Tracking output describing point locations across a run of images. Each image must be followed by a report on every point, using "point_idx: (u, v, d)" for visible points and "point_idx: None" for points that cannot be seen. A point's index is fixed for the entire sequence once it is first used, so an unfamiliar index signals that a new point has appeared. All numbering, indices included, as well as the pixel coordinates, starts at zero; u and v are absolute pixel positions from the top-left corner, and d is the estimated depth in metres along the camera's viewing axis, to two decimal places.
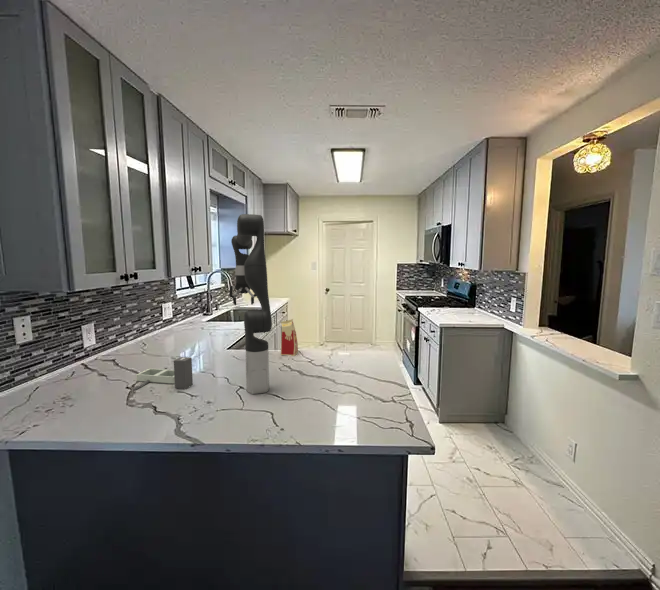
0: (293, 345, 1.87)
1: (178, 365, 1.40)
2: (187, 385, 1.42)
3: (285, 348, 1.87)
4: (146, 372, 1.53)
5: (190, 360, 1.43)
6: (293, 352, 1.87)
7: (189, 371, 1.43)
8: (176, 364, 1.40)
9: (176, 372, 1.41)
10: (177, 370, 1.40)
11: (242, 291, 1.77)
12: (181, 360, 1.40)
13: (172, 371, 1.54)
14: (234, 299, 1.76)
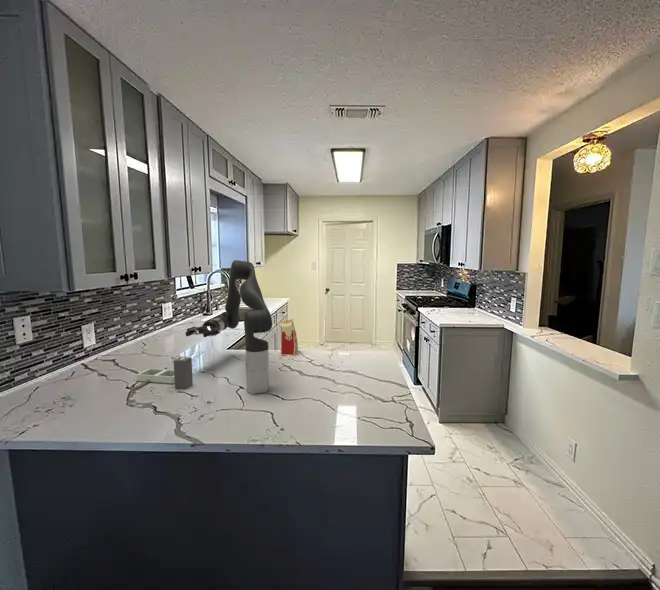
0: (293, 345, 1.87)
1: (178, 365, 1.40)
2: (187, 385, 1.42)
3: (285, 348, 1.87)
4: (146, 372, 1.53)
5: (190, 360, 1.43)
6: (293, 352, 1.87)
7: (189, 371, 1.43)
8: (176, 364, 1.40)
9: (176, 372, 1.41)
10: (177, 370, 1.40)
11: (202, 328, 1.58)
12: (181, 360, 1.40)
13: (172, 371, 1.54)
14: None
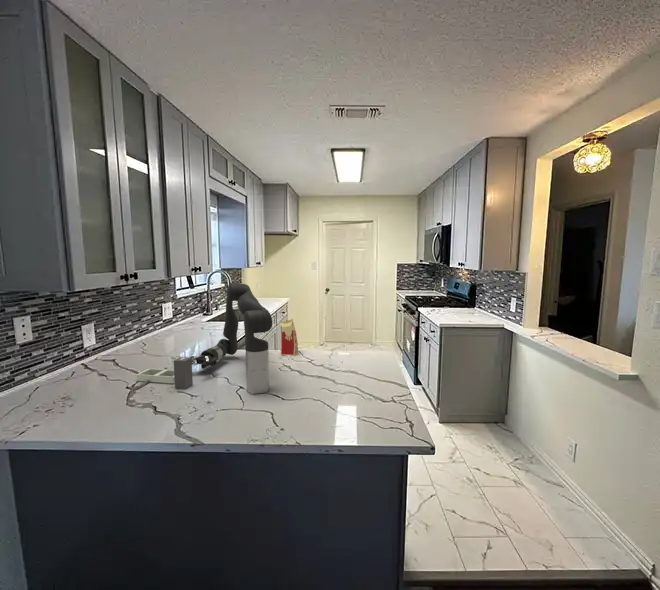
0: (293, 345, 1.87)
1: (178, 365, 1.40)
2: (187, 385, 1.42)
3: (285, 348, 1.87)
4: (146, 372, 1.53)
5: (190, 360, 1.43)
6: (293, 352, 1.87)
7: (189, 371, 1.43)
8: (176, 364, 1.40)
9: (176, 372, 1.41)
10: (177, 370, 1.40)
11: (200, 358, 1.57)
12: (181, 360, 1.40)
13: (172, 371, 1.54)
14: None
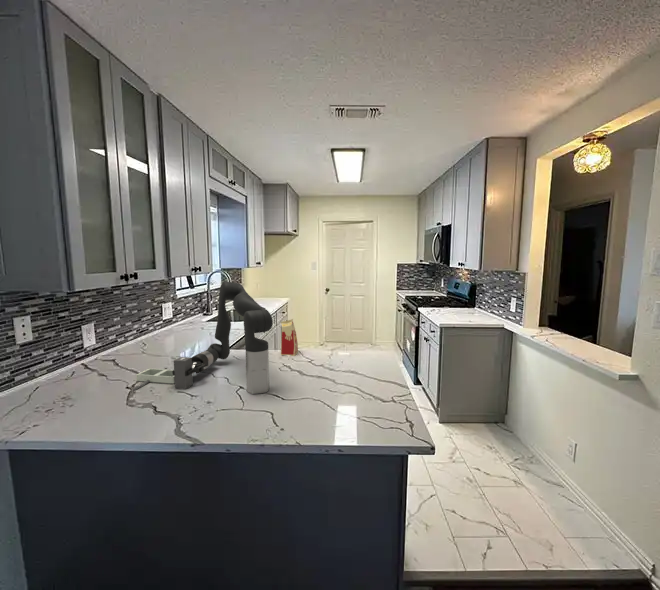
0: (293, 345, 1.87)
1: (178, 365, 1.40)
2: (187, 385, 1.42)
3: (285, 348, 1.87)
4: (146, 372, 1.53)
5: (190, 360, 1.43)
6: (293, 352, 1.87)
7: None
8: (176, 364, 1.40)
9: (176, 372, 1.41)
10: (177, 370, 1.40)
11: None
12: (181, 360, 1.40)
13: None
14: None
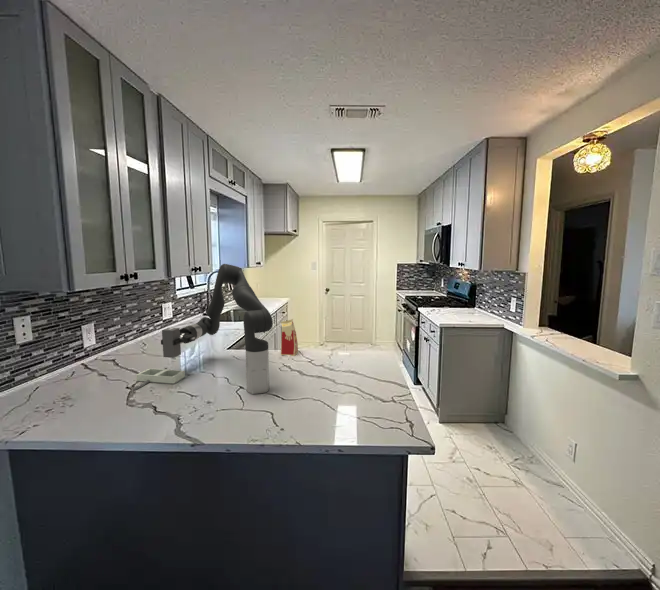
0: (293, 345, 1.87)
1: (166, 335, 1.44)
2: (175, 354, 1.46)
3: (285, 348, 1.87)
4: (146, 372, 1.53)
5: (178, 330, 1.48)
6: (293, 352, 1.87)
7: None
8: (164, 333, 1.45)
9: (165, 342, 1.45)
10: (165, 340, 1.45)
11: None
12: (169, 330, 1.45)
13: (172, 371, 1.54)
14: None
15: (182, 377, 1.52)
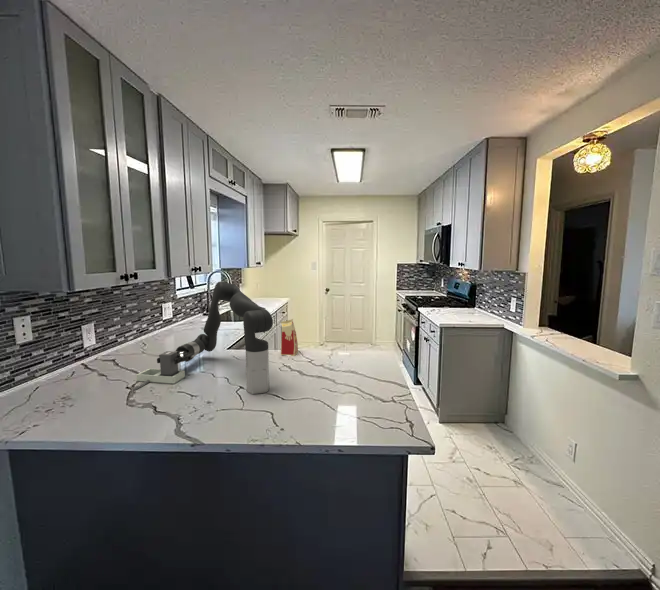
0: (293, 345, 1.87)
1: (164, 359, 1.47)
2: None
3: (285, 348, 1.87)
4: (146, 372, 1.53)
5: (175, 354, 1.50)
6: (293, 352, 1.87)
7: (175, 365, 1.50)
8: (162, 358, 1.47)
9: (162, 366, 1.47)
10: (163, 364, 1.47)
11: None
12: (166, 354, 1.47)
13: None
14: None
15: (182, 377, 1.52)
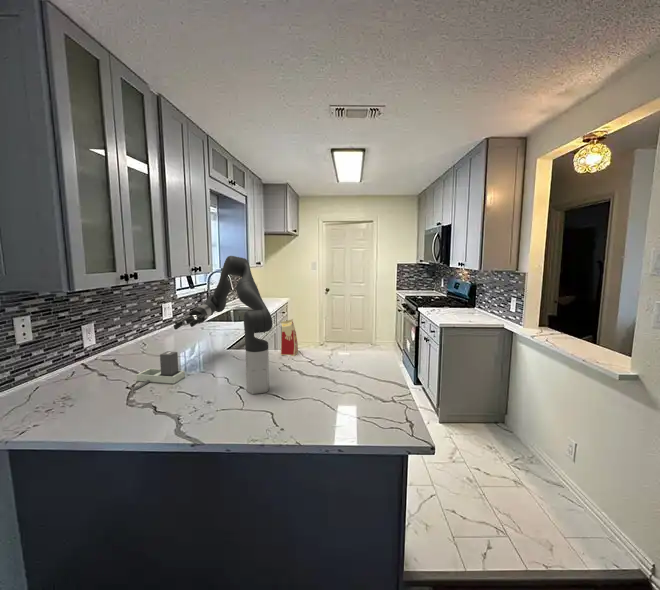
0: (293, 345, 1.87)
1: (164, 359, 1.47)
2: None
3: (285, 348, 1.87)
4: (146, 372, 1.53)
5: (176, 354, 1.50)
6: (293, 352, 1.87)
7: (175, 365, 1.50)
8: (162, 358, 1.47)
9: (163, 366, 1.47)
10: (163, 364, 1.47)
11: (189, 318, 1.62)
12: (167, 354, 1.47)
13: None
14: None
15: (182, 377, 1.52)
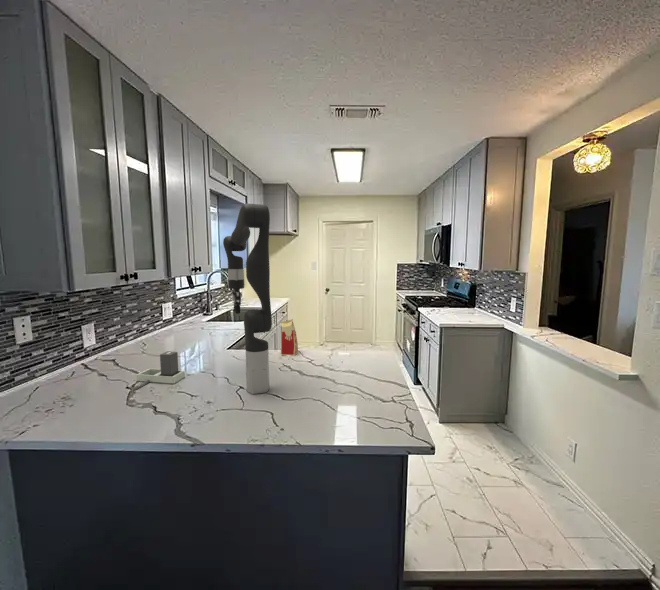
0: (293, 345, 1.87)
1: (164, 359, 1.47)
2: None
3: (285, 348, 1.87)
4: (146, 372, 1.53)
5: (176, 354, 1.50)
6: (293, 352, 1.87)
7: (175, 365, 1.50)
8: (162, 358, 1.47)
9: (163, 366, 1.47)
10: (163, 364, 1.47)
11: None
12: (167, 354, 1.47)
13: None
14: (234, 304, 1.67)
15: (182, 377, 1.52)
